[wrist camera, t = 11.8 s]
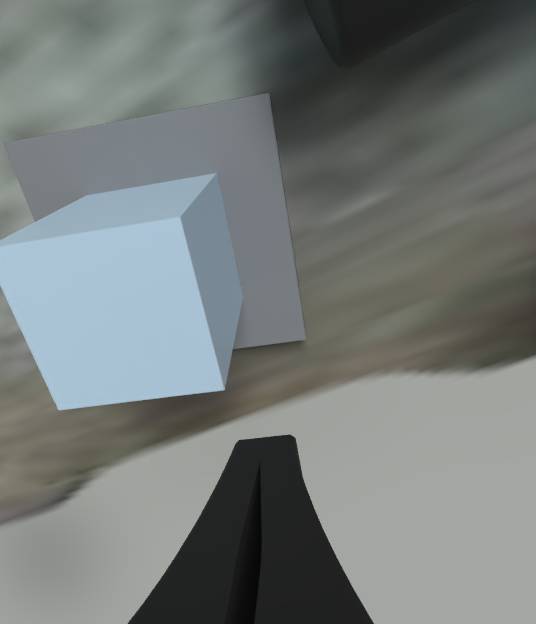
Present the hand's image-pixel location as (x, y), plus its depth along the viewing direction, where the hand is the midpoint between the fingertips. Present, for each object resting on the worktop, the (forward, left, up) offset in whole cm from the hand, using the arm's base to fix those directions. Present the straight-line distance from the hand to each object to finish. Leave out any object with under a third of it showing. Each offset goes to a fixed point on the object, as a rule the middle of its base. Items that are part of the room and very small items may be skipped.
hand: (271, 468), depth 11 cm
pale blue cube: (+4, -3, -9) cm, 11 cm away
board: (+4, -3, -10) cm, 12 cm away
